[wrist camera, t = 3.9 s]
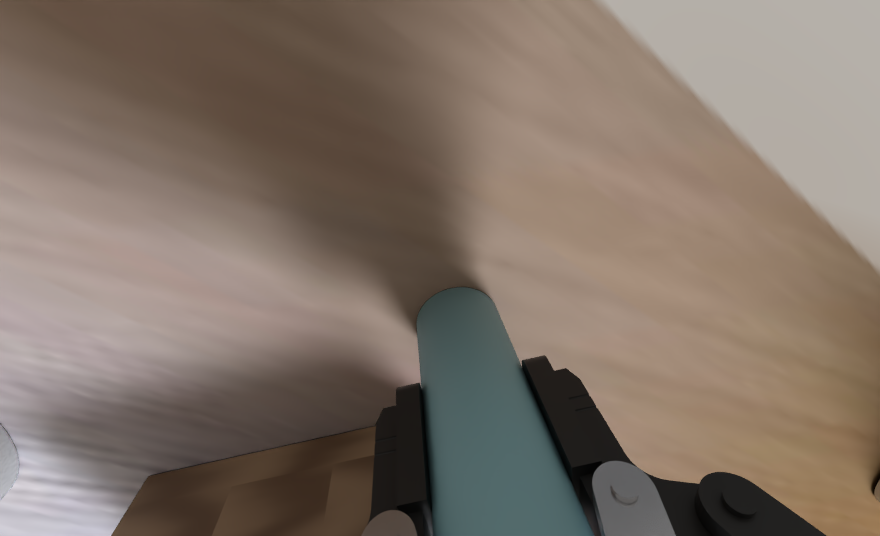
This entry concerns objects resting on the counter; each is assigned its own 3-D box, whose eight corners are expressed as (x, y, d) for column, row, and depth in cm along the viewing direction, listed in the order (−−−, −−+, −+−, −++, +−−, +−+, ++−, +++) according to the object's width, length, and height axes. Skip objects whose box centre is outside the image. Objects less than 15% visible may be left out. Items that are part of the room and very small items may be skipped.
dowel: (492, 279, 14) (785, 893, 3) (502, 344, 16) (719, 896, 5) (407, 297, 14) (442, 969, 3) (425, 361, 16) (486, 950, 5)
